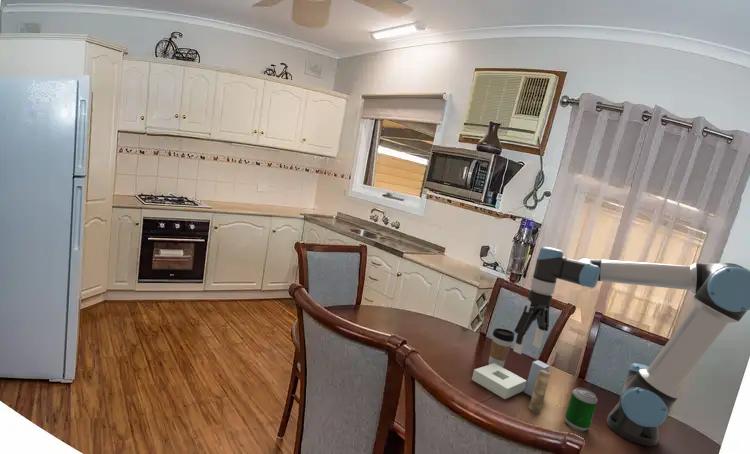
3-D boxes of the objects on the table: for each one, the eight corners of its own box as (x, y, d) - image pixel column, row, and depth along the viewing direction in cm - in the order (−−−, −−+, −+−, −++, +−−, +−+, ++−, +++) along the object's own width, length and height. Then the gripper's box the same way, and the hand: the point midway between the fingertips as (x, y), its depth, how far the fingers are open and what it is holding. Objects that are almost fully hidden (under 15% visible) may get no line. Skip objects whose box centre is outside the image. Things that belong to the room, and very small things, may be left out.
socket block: (524, 390, 161) (526, 380, 160) (504, 399, 151) (507, 388, 151) (491, 372, 171) (494, 362, 170) (471, 379, 161) (474, 369, 160)
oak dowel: (541, 412, 148) (552, 374, 146) (536, 414, 145) (547, 376, 143) (531, 406, 150) (542, 369, 148) (526, 408, 148) (537, 371, 146)
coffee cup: (507, 372, 174) (516, 337, 172) (485, 366, 175) (494, 331, 173) (505, 363, 182) (513, 330, 180) (484, 358, 183) (493, 324, 181)
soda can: (587, 436, 138) (597, 401, 137) (562, 424, 142) (572, 391, 140) (589, 426, 145) (599, 393, 143) (565, 415, 149) (575, 383, 147)
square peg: (541, 395, 160) (549, 365, 158) (535, 398, 156) (544, 368, 155) (529, 389, 163) (538, 360, 161) (524, 392, 160) (532, 362, 158)
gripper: (547, 286, 161) (534, 340, 164) (513, 290, 144) (498, 350, 147) (567, 293, 155) (553, 348, 158) (534, 297, 138) (518, 360, 141)
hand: (527, 349), depth 152 cm, fingers open, 13 cm apart
